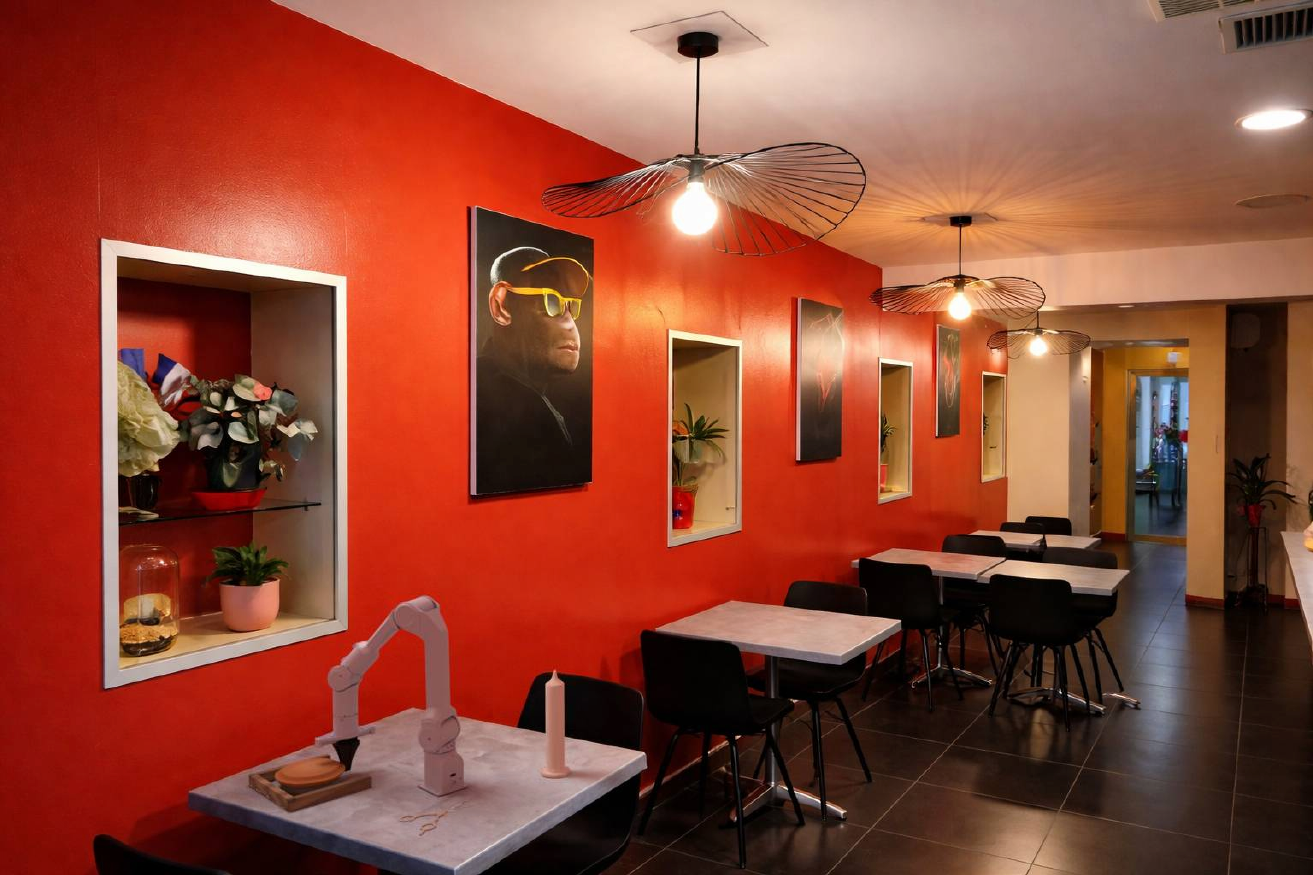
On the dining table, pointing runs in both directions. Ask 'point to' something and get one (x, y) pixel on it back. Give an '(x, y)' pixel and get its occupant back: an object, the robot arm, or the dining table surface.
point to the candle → (555, 730)
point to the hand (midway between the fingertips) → (346, 769)
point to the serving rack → (303, 800)
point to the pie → (309, 775)
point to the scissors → (439, 814)
